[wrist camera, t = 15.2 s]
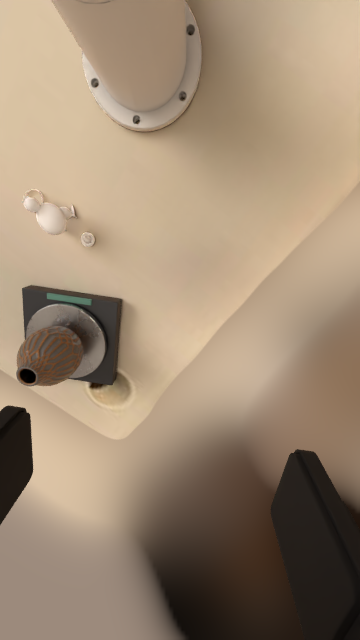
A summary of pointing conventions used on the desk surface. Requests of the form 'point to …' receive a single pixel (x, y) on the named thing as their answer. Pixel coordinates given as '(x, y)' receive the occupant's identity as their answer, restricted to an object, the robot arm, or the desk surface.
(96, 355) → the scale pan
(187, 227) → the desk surface
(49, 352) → the vase
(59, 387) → the desk surface
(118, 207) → the desk surface
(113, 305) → the scale
